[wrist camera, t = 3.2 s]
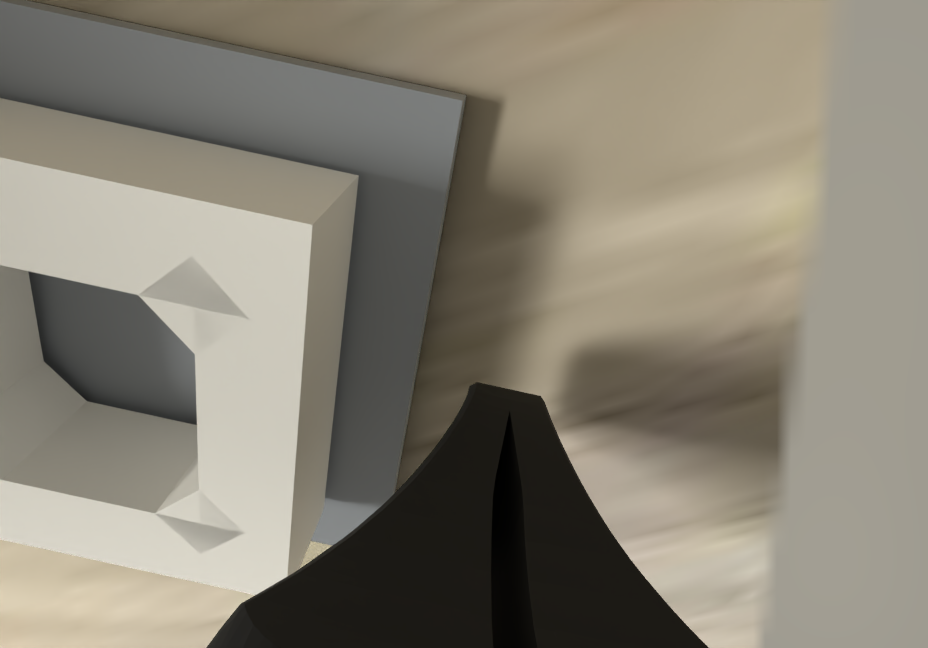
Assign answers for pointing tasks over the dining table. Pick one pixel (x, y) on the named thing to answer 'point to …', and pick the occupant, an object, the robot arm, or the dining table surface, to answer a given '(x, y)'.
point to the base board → (272, 134)
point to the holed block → (196, 323)
